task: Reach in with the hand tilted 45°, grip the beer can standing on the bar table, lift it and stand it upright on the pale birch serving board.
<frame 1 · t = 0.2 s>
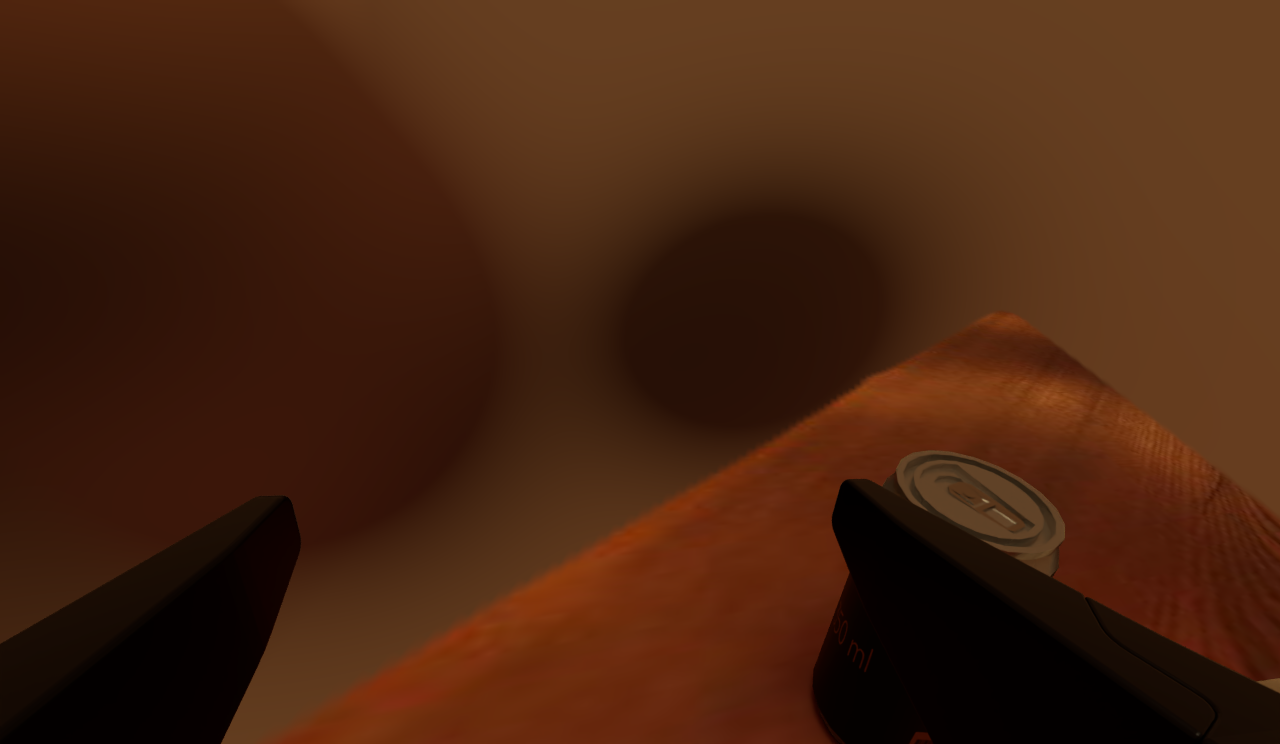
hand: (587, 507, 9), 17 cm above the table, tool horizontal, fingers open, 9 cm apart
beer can: (871, 713, 23), on the table
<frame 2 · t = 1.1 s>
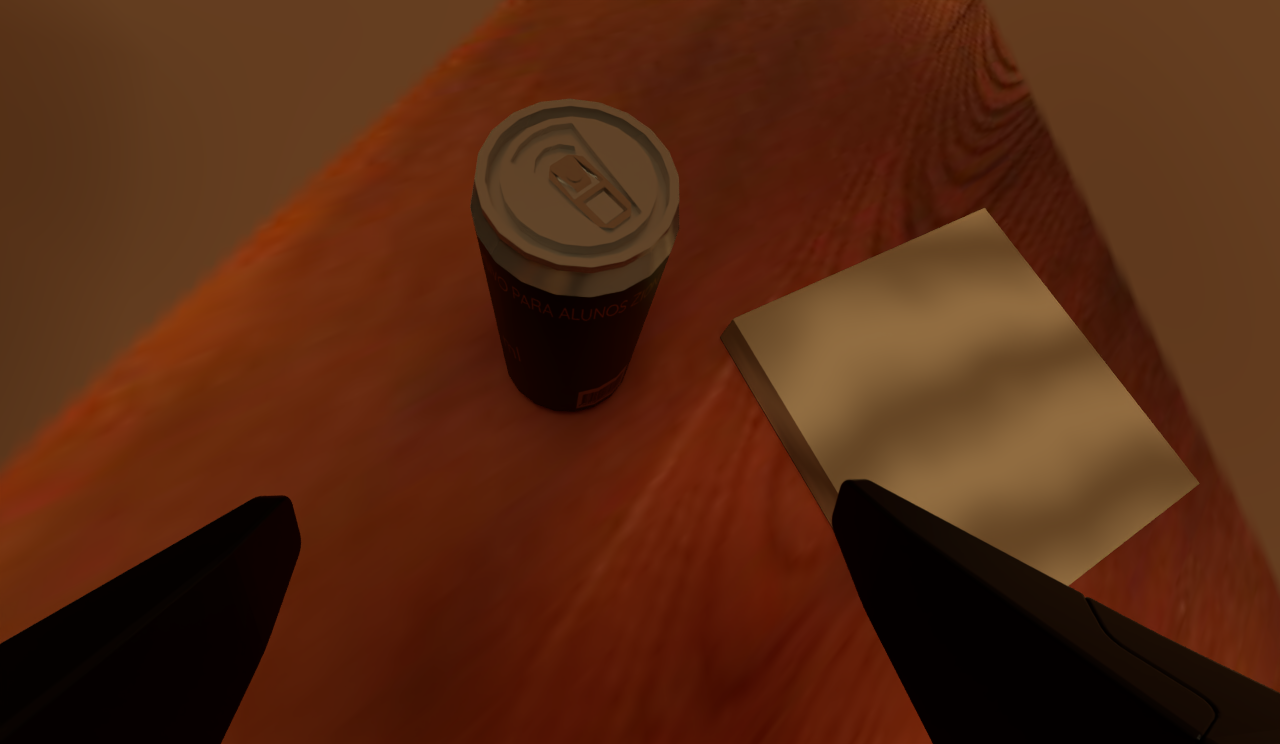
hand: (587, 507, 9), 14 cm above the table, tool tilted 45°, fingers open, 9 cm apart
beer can: (567, 359, 24), on the table
serving board: (940, 414, 26), on the table
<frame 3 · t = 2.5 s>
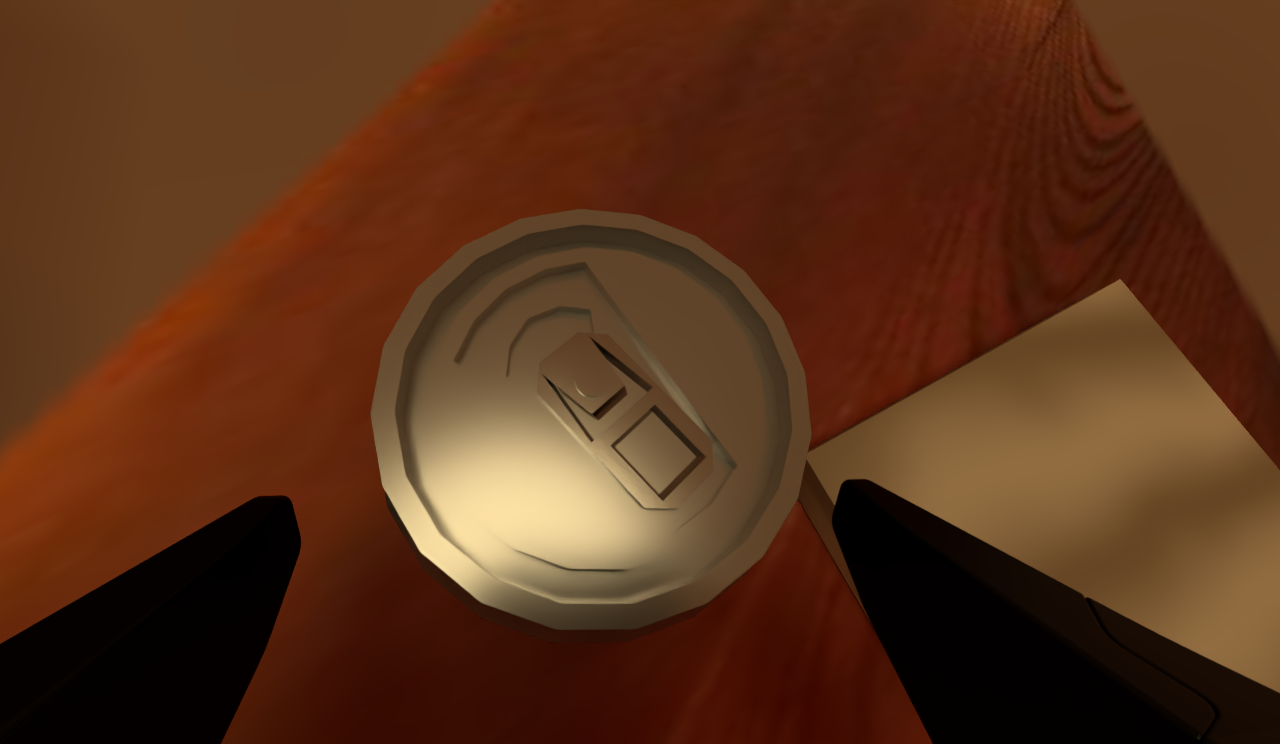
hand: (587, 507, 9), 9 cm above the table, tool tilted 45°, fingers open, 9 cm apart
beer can: (570, 508, 17), on the table
serving board: (1078, 568, 19), on the table
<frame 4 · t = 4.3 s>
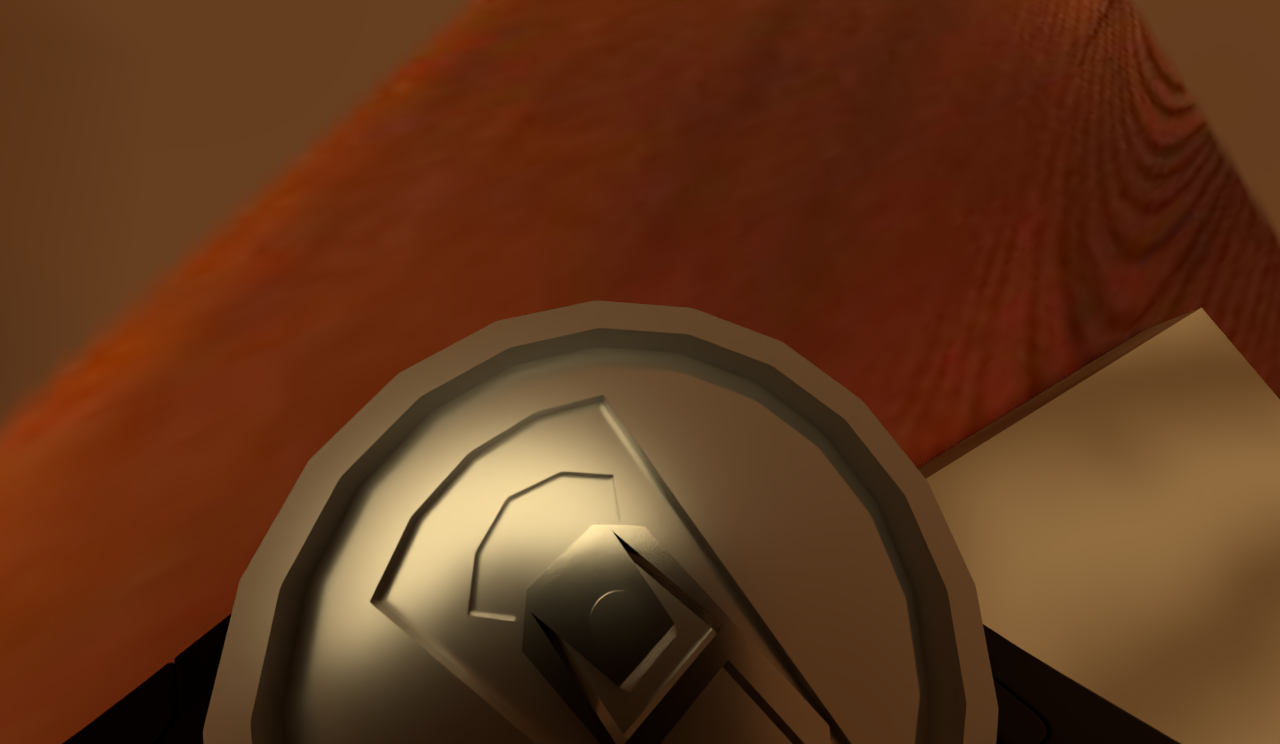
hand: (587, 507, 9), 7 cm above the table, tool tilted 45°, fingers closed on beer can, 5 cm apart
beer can: (573, 584, 15), on the table, touching gripper
serving board: (1160, 647, 16), on the table
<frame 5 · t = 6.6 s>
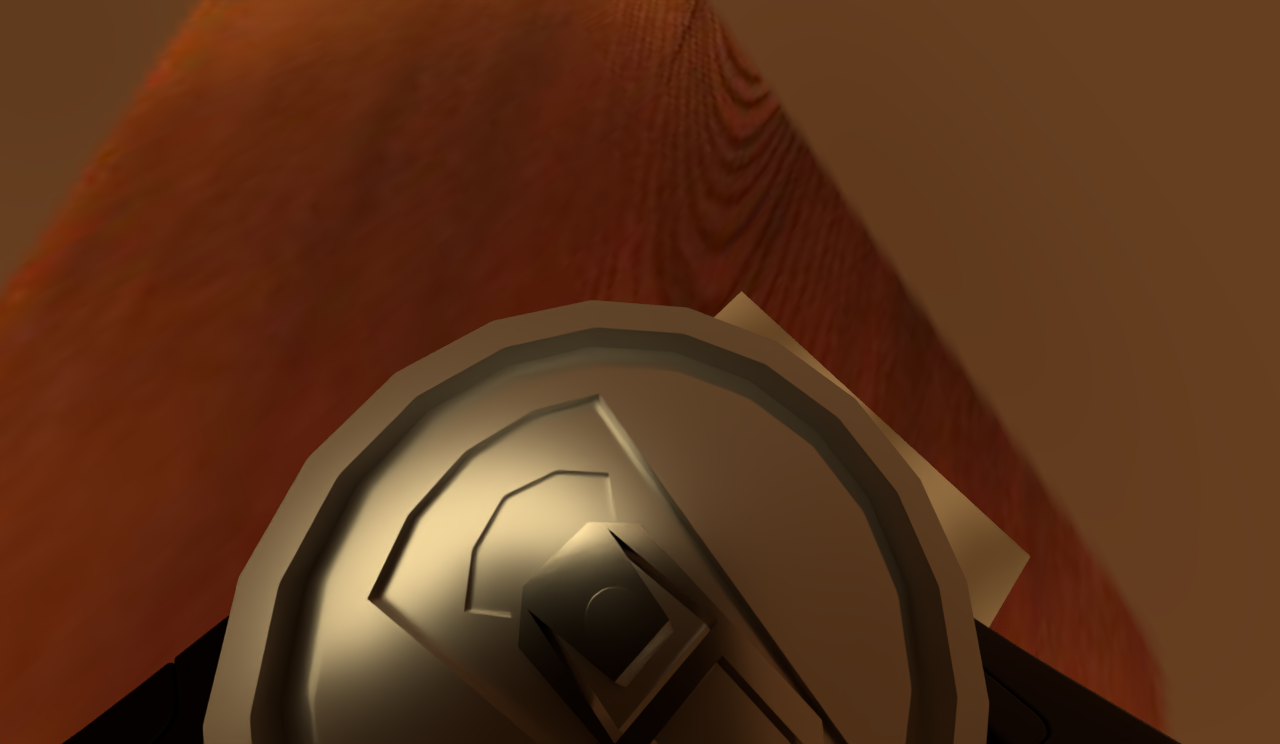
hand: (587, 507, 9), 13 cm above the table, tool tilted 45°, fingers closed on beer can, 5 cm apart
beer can: (572, 583, 15), point 7 cm above the table, touching gripper
serving board: (746, 561, 22), on the table
when the fingers open (10 cm above the table, at t = 8.9 s): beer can drops 1 cm, resting on serving board.
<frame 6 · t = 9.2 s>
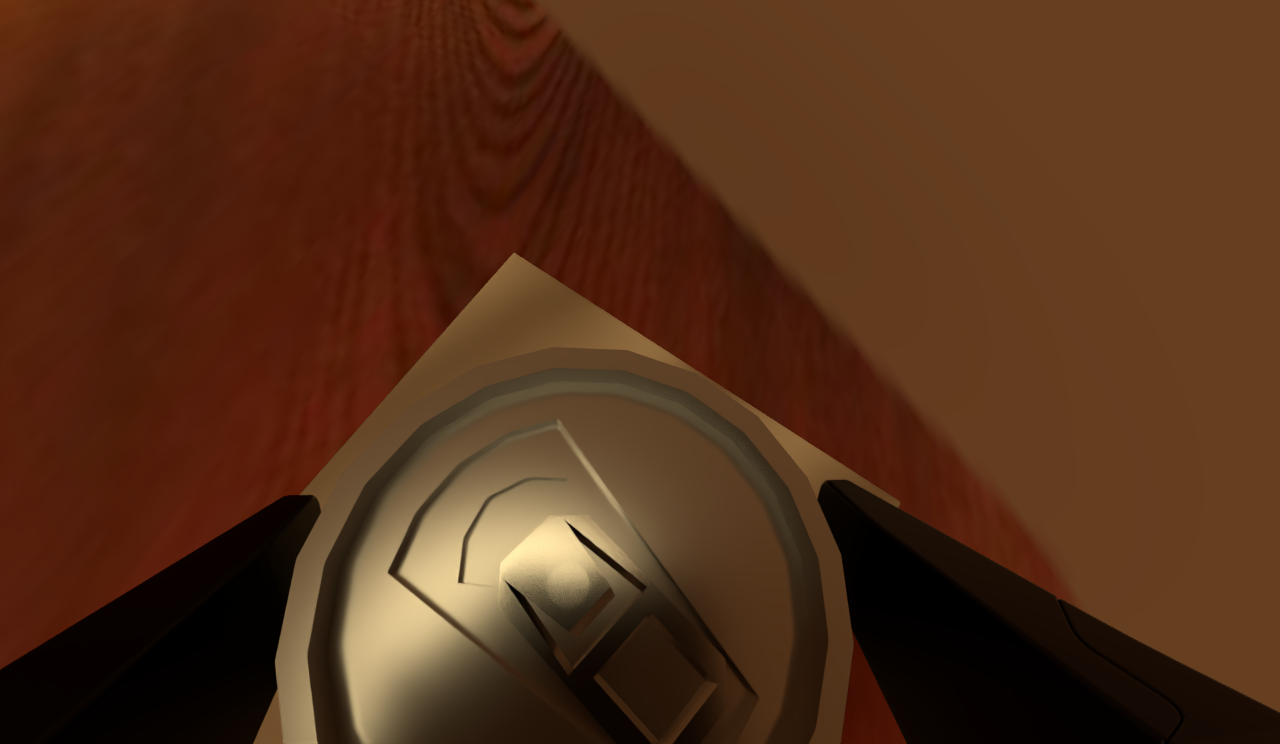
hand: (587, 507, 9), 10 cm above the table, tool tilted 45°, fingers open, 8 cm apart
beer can: (571, 590, 16), point 2 cm above the table, touching serving board
serving board: (569, 581, 18), on the table
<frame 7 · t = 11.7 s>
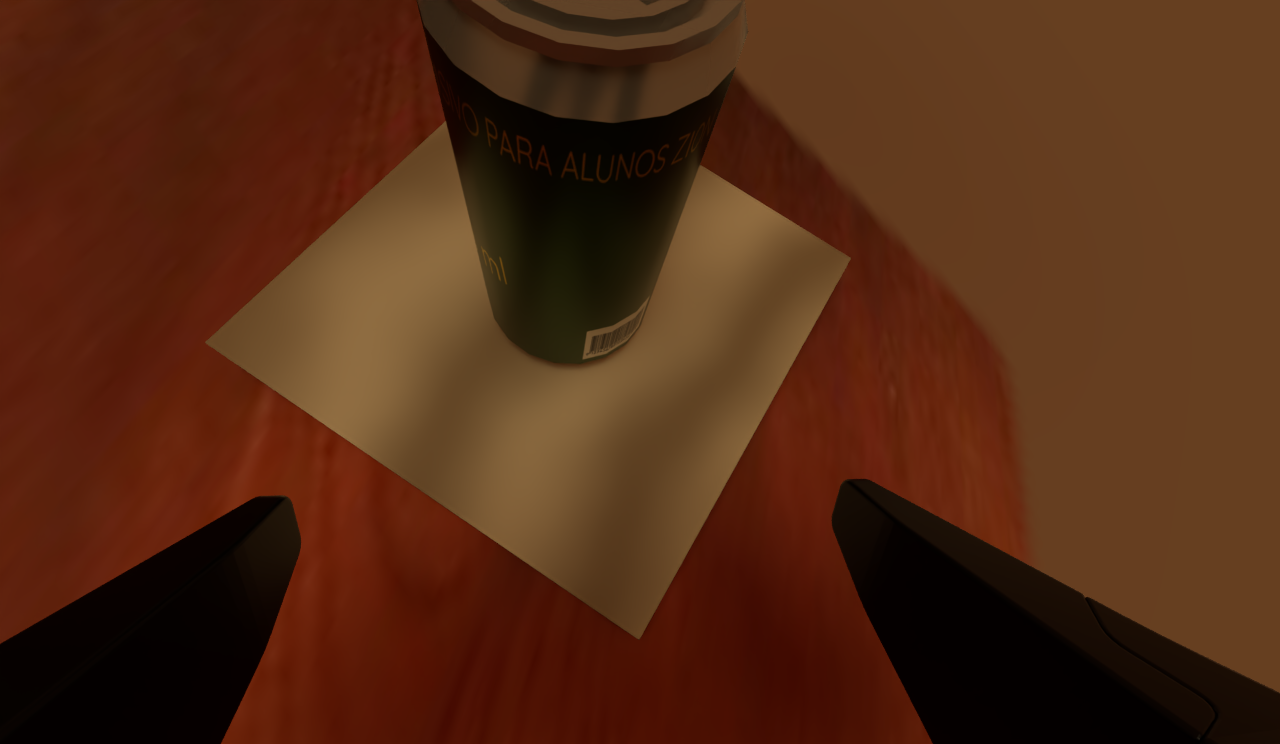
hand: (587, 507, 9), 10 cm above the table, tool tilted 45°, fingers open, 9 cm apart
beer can: (569, 302, 19), point 2 cm above the table, touching serving board
serving board: (567, 319, 21), on the table
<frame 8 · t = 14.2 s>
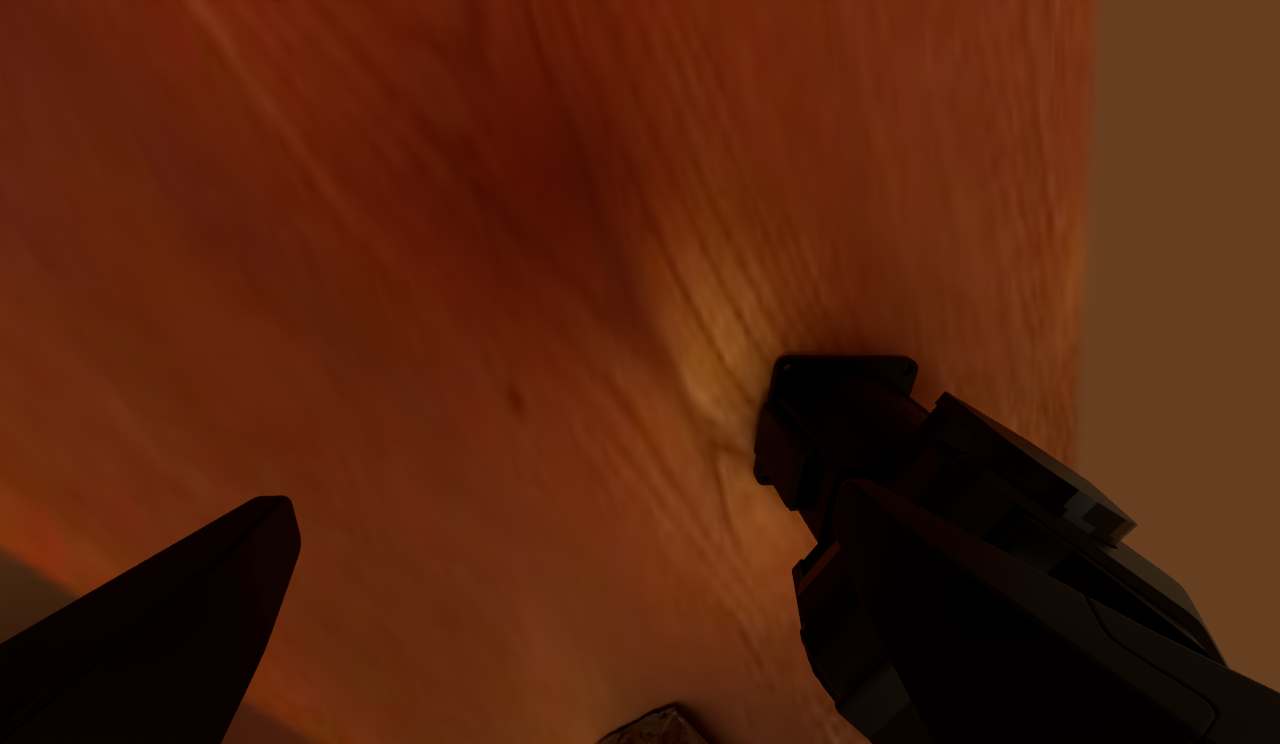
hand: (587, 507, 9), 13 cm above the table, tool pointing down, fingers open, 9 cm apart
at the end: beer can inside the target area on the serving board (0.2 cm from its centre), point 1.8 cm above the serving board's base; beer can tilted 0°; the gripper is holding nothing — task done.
